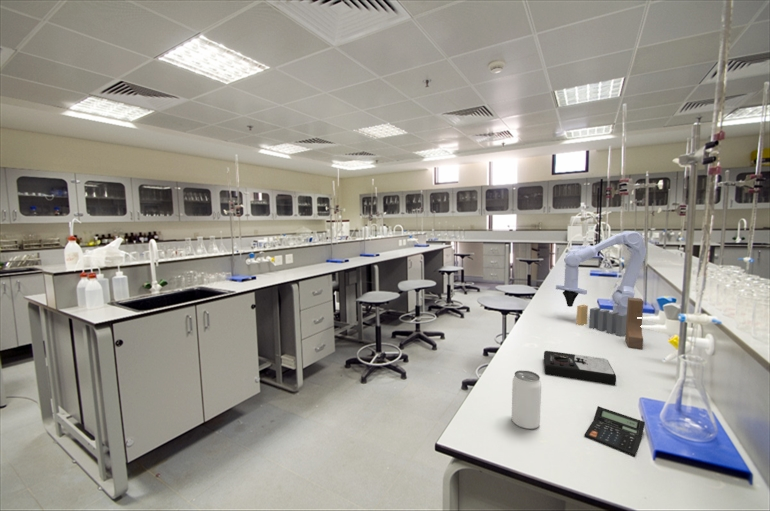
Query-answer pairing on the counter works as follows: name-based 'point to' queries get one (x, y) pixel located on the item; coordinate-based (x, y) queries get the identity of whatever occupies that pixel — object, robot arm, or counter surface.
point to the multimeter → (579, 367)
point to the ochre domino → (582, 314)
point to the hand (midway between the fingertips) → (569, 306)
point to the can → (526, 399)
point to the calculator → (616, 431)
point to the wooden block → (634, 323)
